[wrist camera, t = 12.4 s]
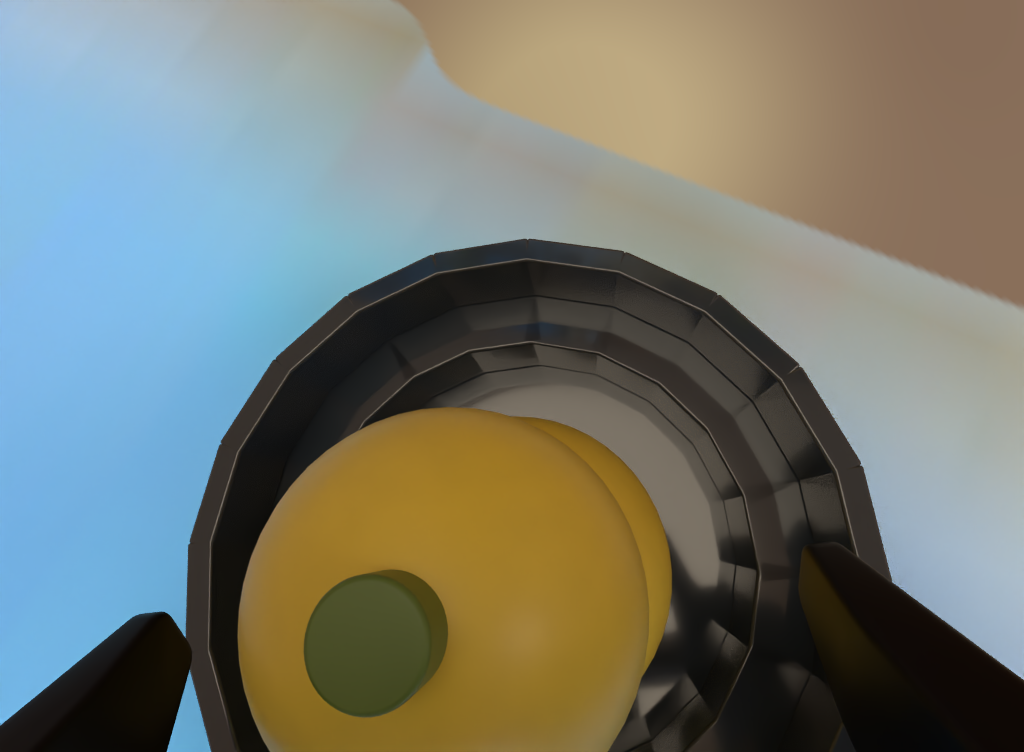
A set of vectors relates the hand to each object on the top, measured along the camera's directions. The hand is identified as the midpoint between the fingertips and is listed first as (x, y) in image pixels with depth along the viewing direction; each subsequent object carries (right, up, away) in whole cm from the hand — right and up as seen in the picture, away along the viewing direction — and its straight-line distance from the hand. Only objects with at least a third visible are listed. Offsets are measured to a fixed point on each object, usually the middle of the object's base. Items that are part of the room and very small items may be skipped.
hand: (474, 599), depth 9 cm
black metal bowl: (+1, -2, +9) cm, 9 cm away
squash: (+1, -2, +9) cm, 9 cm away
